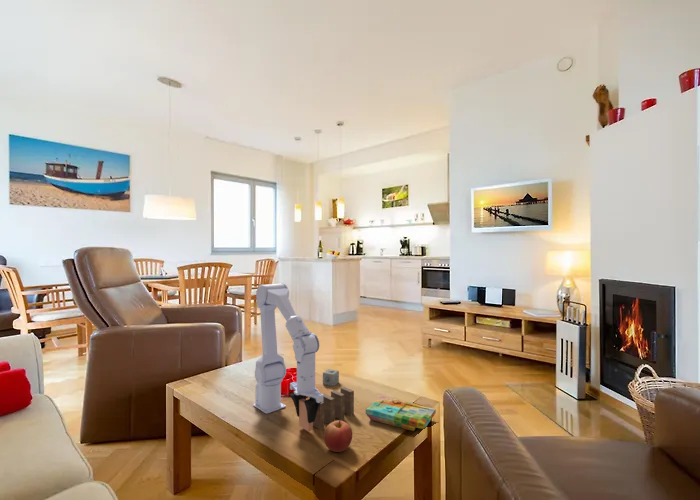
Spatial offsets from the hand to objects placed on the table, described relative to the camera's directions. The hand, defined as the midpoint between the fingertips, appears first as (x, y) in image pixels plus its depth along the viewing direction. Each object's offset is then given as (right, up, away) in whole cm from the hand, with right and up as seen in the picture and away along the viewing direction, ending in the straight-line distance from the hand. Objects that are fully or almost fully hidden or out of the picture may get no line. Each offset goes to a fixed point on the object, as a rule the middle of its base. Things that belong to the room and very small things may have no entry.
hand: (305, 418), depth 106 cm
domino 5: (+13, -4, +12) cm, 18 cm away
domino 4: (+10, -4, +9) cm, 14 cm away
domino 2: (+3, -4, +3) cm, 6 cm away
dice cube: (+6, -5, +39) cm, 39 cm away
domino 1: (0, -3, 0) cm, 3 cm away
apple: (+10, -4, -9) cm, 15 cm away
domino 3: (+6, -4, +6) cm, 10 cm away
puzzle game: (+30, -4, +7) cm, 32 cm away
